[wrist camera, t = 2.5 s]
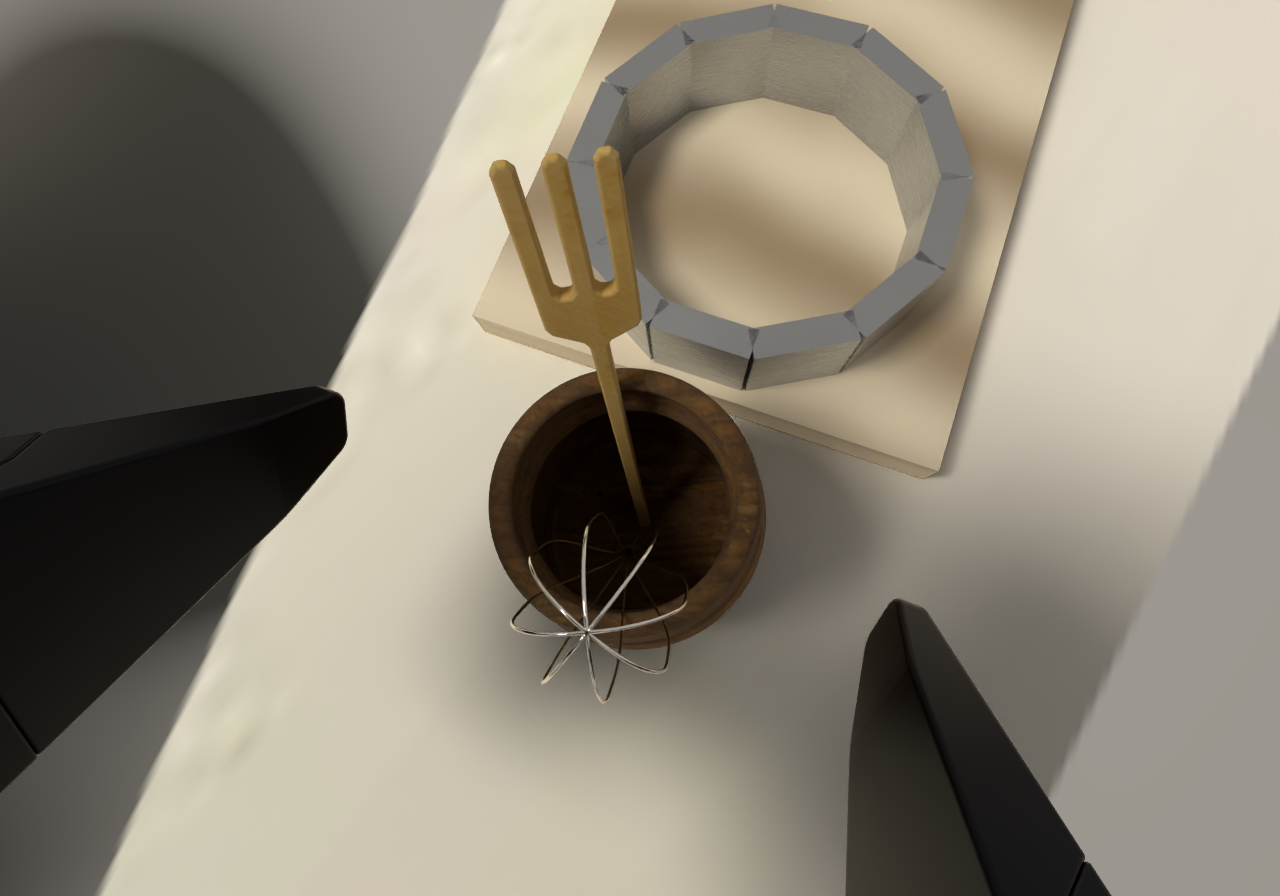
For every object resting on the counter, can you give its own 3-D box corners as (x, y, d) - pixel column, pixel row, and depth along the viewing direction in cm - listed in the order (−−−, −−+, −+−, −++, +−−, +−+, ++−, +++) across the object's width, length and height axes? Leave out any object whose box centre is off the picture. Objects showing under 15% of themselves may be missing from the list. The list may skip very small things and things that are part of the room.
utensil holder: (552, 647, 17) (284, 770, 6) (539, 432, 19) (301, 184, 7) (762, 627, 17) (923, 715, 5) (732, 411, 19) (811, 115, 7)
